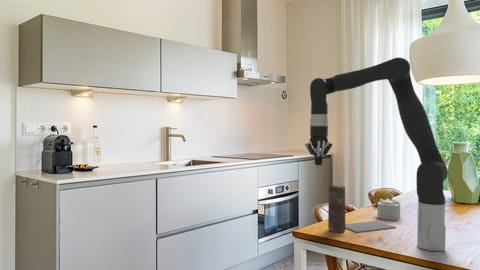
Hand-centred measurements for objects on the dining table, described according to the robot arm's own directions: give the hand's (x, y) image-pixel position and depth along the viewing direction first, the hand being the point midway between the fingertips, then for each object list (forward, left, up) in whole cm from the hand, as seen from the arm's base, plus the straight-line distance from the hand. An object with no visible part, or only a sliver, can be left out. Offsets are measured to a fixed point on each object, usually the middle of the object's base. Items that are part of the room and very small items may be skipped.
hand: (318, 165), depth 164 cm
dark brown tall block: (+2, -9, -29) cm, 31 cm away
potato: (+55, -52, -29) cm, 81 cm away
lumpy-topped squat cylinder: (+28, -44, -29) cm, 60 cm away
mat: (+8, -25, -29) cm, 39 cm away
